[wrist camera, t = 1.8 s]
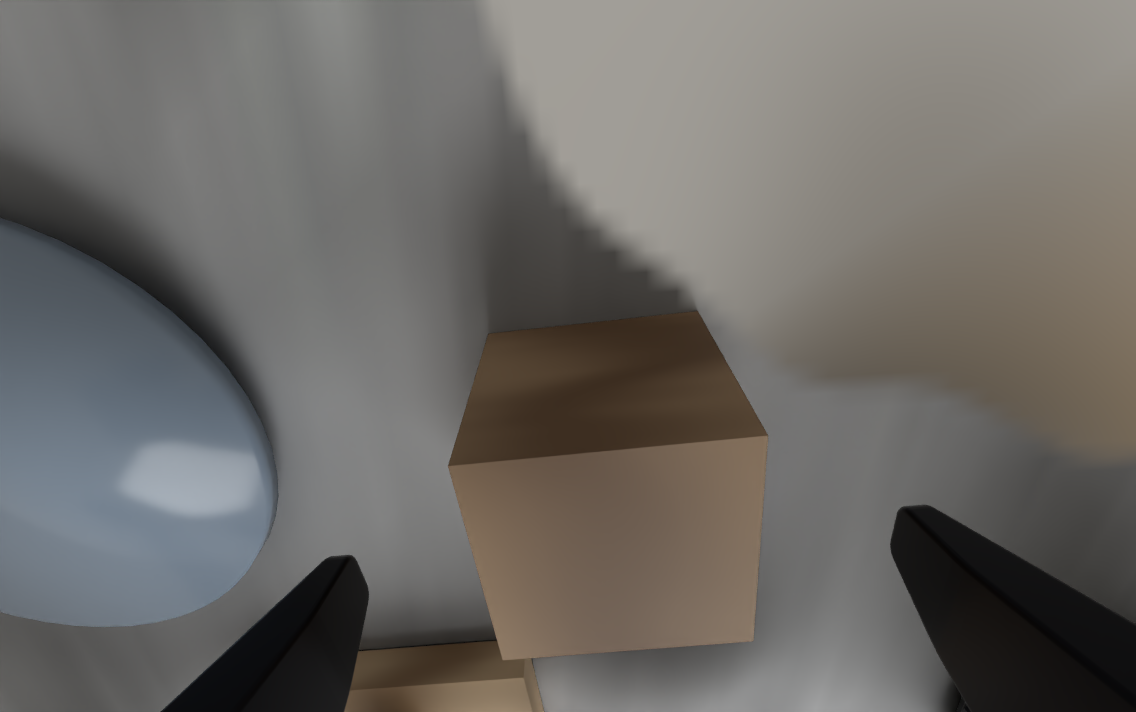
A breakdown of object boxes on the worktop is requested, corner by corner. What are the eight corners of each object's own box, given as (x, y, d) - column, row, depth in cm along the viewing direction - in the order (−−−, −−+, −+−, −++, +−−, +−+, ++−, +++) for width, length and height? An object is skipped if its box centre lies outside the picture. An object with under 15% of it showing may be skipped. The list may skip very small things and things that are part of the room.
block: (696, 309, 11) (768, 435, 7) (697, 473, 13) (752, 641, 9) (488, 332, 12) (448, 466, 8) (521, 489, 14) (503, 660, 10)
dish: (163, 157, 10) (113, 167, 9) (348, 571, 15) (331, 609, 14) (-377, 227, 10) (-487, 244, 9) (-21, 602, 15) (-64, 641, 14)
